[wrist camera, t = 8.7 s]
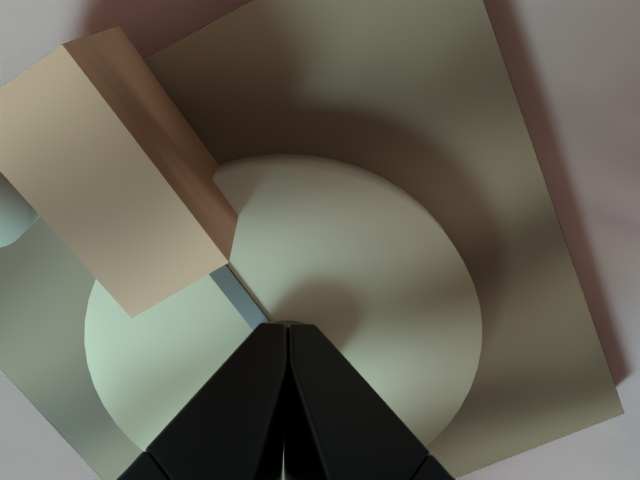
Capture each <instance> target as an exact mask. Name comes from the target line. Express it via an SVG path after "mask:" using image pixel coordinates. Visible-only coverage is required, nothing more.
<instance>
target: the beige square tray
mask: <svg viewBox="0 0 640 480" xmlns="http://www.w3.org/2000/svg"><path fill="white" fill-rule="evenodd" d="M144 62H145V63H146V65H147V66H148V67H149V69H150V70H151V72H152V73H153V74H154V76H155V77H156V79H157V80H158V81H159V83H160V84H161V86H162V87H163V88H164V90H165V91H166V93H167V94H168V95H169V97H170V98H171V100H172V101H173V102H174V104H175V105H176V107H177V108H178V109H179V111H180V112H181V114H182V115H183V116H184V118H185V119H186V121H187V122H188V123H189V125H190V126H191V128H192V129H193V130H194V132H195V133H196V135H197V136H198V137H199V139H200V140H201V142H202V143H203V145H204V146H205V147H206V149H207V150H208V152H209V153H210V154H211V156H212V157H213V159H214V160H215V161H216V163H217V164H220V163H223V162H227V161H232V160H236V159H241V158H245V157H250V156H259V155H270V154H303V155H312V156H318V157H324V158H330V159H335V160H338V161H342V162H345V163H348V164H352V165H355V166H359V167H361V168H363V169H366V170H368V171H370V172H372V173H375V174H377V175H379V176H381V177H383V178H385V179H387V180H388V181H390V182H392V183H393V184H395V185H396V186H398V187H400V188H401V189H403V190H404V191H406V192H407V193H408V194H409V195H411V196H412V197H413V198H414V199H416V200H417V201H418V202H419V203H420V204H422V205H423V206H424V207H425V208H426V209H427V210H428V211H429V213H430V214H431V215H432V216H433V217H434V218H435V219H436V220H437V221H438V223H439V224H440V225H441V226H442V228H443V229H444V231H445V233H446V234H447V236H448V237H449V239H450V240H451V242H452V243H453V245H454V246H455V248H456V250H457V251H458V253H459V255H460V257H461V258H462V260H463V262H464V263H465V266H466V268H467V270H468V272H469V274H470V276H471V279H472V281H473V283H474V286H475V290H476V293H477V297H478V300H479V304H480V311H481V319H482V348H481V353H480V358H479V363H478V368H477V371H476V374H475V377H474V380H473V383H472V385H471V388H470V390H469V392H468V394H467V396H466V398H465V400H464V402H463V404H462V405H461V407H460V409H459V410H458V412H457V413H456V414H455V416H454V417H453V419H452V420H451V421H450V423H449V424H448V425H447V427H446V428H445V429H444V430H443V431H442V432H441V433H440V434H439V435H438V436H437V437H436V439H435V440H434V441H432V442H431V443H430V444H429V445H428V446H427V447H426V448H427V449H428V450H429V452H430V455H433V456H434V457H435V458H436V459H437V460H438V461H439V462H440V463H441V465H442V466H443V467H444V468H445V469H446V470H447V471H448V472H449V473H450V474H451V476H452V477H453V478H454V479H455V478H457V477H460V476H463V475H465V474H468V473H470V472H473V471H476V470H478V469H481V468H483V467H486V466H489V465H491V464H494V463H496V462H499V461H502V460H504V459H507V458H509V457H512V456H514V455H517V454H520V453H522V452H525V451H527V450H530V449H533V448H535V447H538V446H540V445H543V444H546V443H548V442H551V441H553V440H556V439H559V438H561V437H564V436H566V435H569V434H572V433H574V432H577V431H579V430H582V429H585V428H587V427H590V426H592V425H595V424H598V423H600V422H603V421H605V420H608V419H611V418H613V417H616V416H618V415H621V414H624V410H623V408H622V405H621V402H620V399H619V396H618V393H617V390H616V387H615V384H614V381H613V378H612V375H611V373H610V370H609V367H608V364H607V361H606V358H605V355H604V352H603V349H602V346H601V343H600V340H599V338H598V335H597V332H596V329H595V326H594V323H593V320H592V317H591V314H590V311H589V308H588V305H587V302H586V300H585V297H584V294H583V291H582V288H581V285H580V282H579V279H578V276H577V273H576V270H575V267H574V265H573V262H572V259H571V256H570V253H569V250H568V247H567V244H566V241H565V238H564V235H563V232H562V230H561V227H560V224H559V221H558V218H557V215H556V212H555V209H554V206H553V203H552V200H551V197H550V195H549V192H548V189H547V186H546V183H545V180H544V177H543V174H542V171H541V168H540V165H539V162H538V159H537V157H536V154H535V151H534V148H533V145H532V142H531V139H530V136H529V133H528V130H527V127H526V124H525V122H524V119H523V116H522V113H521V110H520V107H519V104H518V101H517V98H516V95H515V92H514V89H513V87H512V84H511V81H510V78H509V75H508V72H507V69H506V66H505V63H504V60H503V57H502V54H501V52H500V49H499V46H498V43H497V40H496V37H495V34H494V31H493V28H492V25H491V22H490V19H489V16H488V14H487V11H486V8H485V5H484V2H483V0H252V1H250V2H248V3H246V4H244V5H242V6H241V7H239V8H237V9H235V10H233V11H231V12H230V13H228V14H226V15H224V16H222V17H220V18H219V19H217V20H215V21H213V22H211V23H209V24H208V25H206V26H204V27H202V28H200V29H199V30H197V31H195V32H193V33H191V34H189V35H188V36H186V37H184V38H182V39H180V40H178V41H177V42H175V43H173V44H171V45H169V46H167V47H166V48H164V49H162V50H160V51H158V52H156V53H155V54H153V55H151V56H149V57H147V58H145V59H144ZM95 280H96V278H95V277H94V276H93V275H92V273H91V272H90V271H89V270H88V269H87V268H86V267H85V266H84V265H83V263H82V262H81V261H80V260H79V259H78V258H77V257H76V256H75V254H74V253H73V252H72V251H71V250H70V249H69V248H68V247H67V245H66V244H65V243H64V242H63V241H62V240H61V239H60V238H59V237H58V235H57V234H56V233H55V232H54V231H53V230H52V229H51V228H50V226H49V225H48V224H47V223H46V222H45V221H44V220H43V219H42V217H41V216H40V215H39V214H38V213H37V212H36V211H35V210H34V209H33V207H32V206H31V205H30V204H29V203H28V202H27V201H26V200H25V198H24V197H23V196H22V195H21V194H20V193H19V192H18V191H17V189H16V188H15V187H14V186H13V185H12V184H11V183H10V182H9V181H8V179H7V178H6V177H5V176H4V175H3V174H2V173H1V172H0V370H1V371H2V372H3V373H4V374H5V375H6V376H7V377H8V378H9V379H10V380H11V382H12V383H13V384H14V385H15V386H16V387H17V388H18V389H19V390H20V391H21V392H22V393H23V395H24V396H25V397H26V398H27V399H28V400H29V401H30V402H31V403H32V404H33V405H34V406H35V408H36V409H37V410H38V411H39V412H40V413H41V414H42V415H43V416H44V417H45V418H46V420H47V421H48V422H49V423H50V424H51V425H52V426H53V427H54V428H55V429H56V430H57V431H58V433H59V434H60V435H61V436H62V437H63V438H64V439H65V440H66V441H67V442H68V443H69V444H70V446H71V447H72V448H73V449H74V450H75V451H76V452H77V453H78V454H79V455H80V456H81V457H82V459H83V460H84V461H85V462H86V463H87V464H88V465H89V466H90V467H91V468H92V469H93V471H94V472H95V473H96V474H97V475H98V476H99V477H100V478H101V479H102V480H116V479H117V478H118V477H119V476H120V475H121V474H122V473H123V472H124V471H125V470H126V469H127V468H128V467H129V466H130V465H131V464H132V463H133V461H134V460H135V459H136V458H137V457H138V456H139V455H140V454H141V453H142V452H143V451H142V450H141V449H140V448H139V447H138V446H137V445H136V444H134V443H133V442H132V441H131V440H130V439H129V438H128V437H127V436H126V434H125V433H124V432H123V431H122V430H121V429H120V428H119V427H118V425H117V424H116V423H115V422H114V420H113V419H112V417H111V416H110V414H109V413H108V411H107V410H106V408H105V407H104V405H103V403H102V401H101V399H100V397H99V395H98V393H97V391H96V389H95V387H94V384H93V381H92V378H91V374H90V371H89V368H88V364H87V358H86V351H85V344H84V338H85V317H86V311H87V306H88V300H89V297H90V294H91V291H92V288H93V285H94V283H95Z"/></svg>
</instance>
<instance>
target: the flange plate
mask: <svg viewBox="0 0 640 480" xmlns="http://www.w3.org/2000/svg"><path fill="white" fill-rule="evenodd" d="M0 172H1V173H2V174H3V175H4V176H5V177H6V178H7V179H8V181H9V182H10V183H11V184H12V185H13V186H14V187H15V188H16V189H17V191H18V192H19V193H20V194H21V195H22V196H23V197H24V198H25V200H26V201H27V202H28V203H29V204H30V205H31V206H32V207H33V209H34V210H35V211H36V212H37V213H38V214H39V215H40V216H41V217H42V219H43V220H44V221H45V222H46V223H47V224H48V225H49V226H50V228H51V229H52V230H53V231H54V232H55V233H56V234H57V235H58V237H59V238H60V239H61V240H62V241H63V242H64V243H65V244H66V245H67V247H68V248H69V249H70V250H71V251H72V252H73V253H74V254H75V256H76V257H77V258H78V259H79V260H80V261H81V262H82V263H83V265H84V266H85V267H86V268H87V269H88V270H89V271H90V272H91V273H92V275H93V276H94V277H95V278H96V280H95V283H94V285H93V288H92V291H91V294H90V297H89V300H88V306H87V311H86V317H85V338H84V344H85V351H86V358H87V364H88V368H89V371H90V374H91V378H92V381H93V384H94V387H95V389H96V391H97V393H98V395H99V397H100V399H101V401H102V403H103V405H104V407H105V408H106V410H107V411H108V413H109V414H110V416H111V417H112V419H113V420H114V422H115V423H116V424H117V425H118V427H119V428H120V429H121V430H122V431H123V432H124V433H125V434H126V436H127V437H128V438H129V439H130V440H131V441H132V442H133V443H134V444H136V445H137V446H138V447H139V448H140V449H141V450H142V451H145V450H146V448H147V446H148V445H149V444H150V443H151V442H152V441H153V440H154V439H155V438H156V437H157V435H158V434H159V433H160V432H161V431H162V430H163V429H164V428H165V427H166V426H167V424H168V423H169V422H170V421H171V420H172V419H173V418H174V417H175V416H176V415H177V414H178V412H179V411H180V410H181V409H182V408H183V407H184V406H185V405H186V404H187V403H188V401H189V400H190V399H191V398H192V397H193V396H194V395H195V394H196V393H197V392H198V390H199V389H200V388H201V387H202V386H203V385H204V384H205V383H206V382H207V381H208V379H209V378H210V377H211V376H212V375H213V374H214V373H215V372H216V371H217V370H218V369H219V367H220V366H221V365H222V364H223V363H224V362H225V361H226V360H227V359H228V358H229V356H230V355H231V354H232V353H233V352H234V351H235V350H236V349H237V348H238V347H239V345H240V344H241V343H242V342H243V341H244V340H245V339H246V338H247V337H248V336H249V334H250V333H251V332H252V331H253V330H254V329H255V328H256V327H257V326H258V325H259V324H260V323H284V324H286V325H287V327H289V325H290V324H293V323H298V324H315V325H316V326H318V328H319V329H320V330H321V331H322V332H323V333H324V334H325V335H326V336H327V338H328V339H329V340H330V341H331V342H332V343H333V344H334V345H335V347H336V348H337V349H338V350H339V351H340V352H341V353H342V354H343V355H344V357H345V358H346V359H347V360H348V361H349V362H350V363H351V364H352V365H353V367H354V368H355V369H356V370H357V371H358V372H359V373H360V374H361V376H362V377H363V378H364V379H365V380H366V381H367V382H368V383H369V384H370V386H371V387H372V388H373V389H374V390H375V391H376V392H377V393H378V395H379V396H380V397H381V398H382V399H383V400H384V401H385V402H386V403H387V405H388V406H389V407H390V408H391V409H392V410H393V411H394V412H395V413H396V415H397V416H398V417H399V418H400V419H401V420H402V421H403V422H404V424H405V425H406V426H407V427H408V428H409V429H410V430H411V431H412V432H413V434H414V435H415V436H416V437H417V438H418V439H419V440H420V441H421V443H422V444H423V445H424V446H425V447H427V446H428V445H429V444H430V443H431V442H432V441H434V440H435V439H436V437H437V436H438V435H439V434H440V433H441V432H442V431H443V430H444V429H445V428H446V427H447V425H448V424H449V423H450V421H451V420H452V419H453V417H454V416H455V414H456V413H457V412H458V410H459V409H460V407H461V405H462V404H463V402H464V400H465V398H466V396H467V394H468V392H469V390H470V388H471V385H472V383H473V380H474V377H475V374H476V371H477V368H478V363H479V358H480V353H481V348H482V319H481V311H480V304H479V300H478V297H477V293H476V290H475V286H474V283H473V281H472V279H471V276H470V274H469V272H468V270H467V268H466V266H465V263H464V262H463V260H462V258H461V257H460V255H459V253H458V251H457V250H456V248H455V246H454V245H453V243H452V242H451V240H450V239H449V237H448V236H447V234H446V233H445V231H444V229H443V228H442V226H441V225H440V224H439V223H438V221H437V220H436V219H435V218H434V217H433V216H432V215H431V214H430V213H429V211H428V210H427V209H426V208H425V207H424V206H423V205H422V204H420V203H419V202H418V201H417V200H416V199H414V198H413V197H412V196H411V195H409V194H408V193H407V192H406V191H404V190H403V189H401V188H400V187H398V186H396V185H395V184H393V183H392V182H390V181H388V180H387V179H385V178H383V177H381V176H379V175H377V174H375V173H372V172H370V171H368V170H366V169H363V168H361V167H359V166H355V165H352V164H348V163H345V162H342V161H338V160H335V159H330V158H324V157H318V156H312V155H303V154H270V155H259V156H250V157H245V158H241V159H236V160H232V161H227V162H223V163H220V164H217V163H216V161H215V160H214V159H213V157H212V156H211V154H210V153H209V152H208V150H207V149H206V147H205V146H204V145H203V143H202V142H201V140H200V139H199V137H198V136H197V135H196V133H195V132H194V130H193V129H192V128H191V126H190V125H189V123H188V122H187V121H186V119H185V118H184V116H183V115H182V114H181V112H180V111H179V109H178V108H177V107H176V105H175V104H174V102H173V101H172V100H171V98H170V97H169V95H168V94H167V93H166V91H165V90H164V88H163V87H162V86H161V84H160V83H159V81H158V80H157V79H156V77H155V76H154V74H153V73H152V72H151V70H150V69H149V67H148V66H147V65H146V63H145V62H144V60H143V59H142V58H141V56H140V55H139V53H138V52H137V51H136V49H135V48H134V46H133V45H132V44H131V42H130V41H129V39H128V38H127V37H126V35H125V34H124V32H123V31H122V30H121V28H120V27H119V26H116V27H113V28H110V29H107V30H104V31H101V32H98V33H95V34H92V35H89V36H86V37H83V38H80V39H77V40H74V41H71V42H68V43H65V44H62V45H60V46H59V47H58V48H56V49H55V50H53V51H52V52H50V53H49V54H48V55H46V56H45V57H43V58H42V59H41V60H39V61H38V62H36V63H35V64H33V65H32V66H31V67H29V68H28V69H26V70H25V71H23V72H22V73H21V74H19V75H18V76H16V77H15V78H13V79H12V80H11V81H9V82H8V83H6V84H5V85H4V86H2V87H1V88H0ZM282 480H284V454H283V472H282Z"/></svg>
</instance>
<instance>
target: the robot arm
mask: <svg viewBox="0 0 640 480" xmlns="http://www.w3.org/2000/svg"><path fill="white" fill-rule="evenodd" d="M283 454H284V480H455V479H454V478H453V477H452V476H451V474H450V473H449V472H448V471H447V470H446V469H445V468H444V467H443V466H442V465H441V463H440V462H439V461H438V460H437V459H436V458H435V457H434V456H433V455H430V452H429V450H428V449H427V448H426V447H425V446H424V445H423V444H422V443H421V441H420V440H419V439H418V438H417V437H416V436H415V435H414V434H413V432H412V431H411V430H410V429H409V428H408V427H407V426H406V425H405V424H404V422H403V421H402V420H401V419H400V418H399V417H398V416H397V415H396V413H395V412H394V411H393V410H392V409H391V408H390V407H389V406H388V405H387V403H386V402H385V401H384V400H383V399H382V398H381V397H380V396H379V395H378V393H377V392H376V391H375V390H374V389H373V388H372V387H371V386H370V384H369V383H368V382H367V381H366V380H365V379H364V378H363V377H362V376H361V374H360V373H359V372H358V371H357V370H356V369H355V368H354V367H353V365H352V364H351V363H350V362H349V361H348V360H347V359H346V358H345V357H344V355H343V354H342V353H341V352H340V351H339V350H338V349H337V348H336V347H335V345H334V344H333V343H332V342H331V341H330V340H329V339H328V338H327V336H326V335H325V334H324V333H323V332H322V331H321V330H320V329H319V328H318V326H316V325H315V324H298V323H293V324H290V325H289V327H287V325H286V324H284V323H260V324H259V325H258V326H257V327H256V328H255V329H254V330H253V331H252V332H251V333H250V334H249V336H248V337H247V338H246V339H245V340H244V341H243V342H242V343H241V344H240V345H239V347H238V348H237V349H236V350H235V351H234V352H233V353H232V354H231V355H230V356H229V358H228V359H227V360H226V361H225V362H224V363H223V364H222V365H221V366H220V367H219V369H218V370H217V371H216V372H215V373H214V374H213V375H212V376H211V377H210V378H209V379H208V381H207V382H206V383H205V384H204V385H203V386H202V387H201V388H200V389H199V390H198V392H197V393H196V394H195V395H194V396H193V397H192V398H191V399H190V400H189V401H188V403H187V404H186V405H185V406H184V407H183V408H182V409H181V410H180V411H179V412H178V414H177V415H176V416H175V417H174V418H173V419H172V420H171V421H170V422H169V423H168V424H167V426H166V427H165V428H164V429H163V430H162V431H161V432H160V433H159V434H158V435H157V437H156V438H155V439H154V440H153V441H152V442H151V443H150V444H149V445H148V446H147V448H146V450H145V451H143V452H142V453H141V454H140V455H139V456H138V457H137V458H136V459H135V460H134V461H133V463H132V464H131V465H130V466H129V467H128V468H127V469H126V470H125V471H124V472H123V473H122V474H121V475H120V476H119V477H118V478H117V479H116V480H282V472H283Z"/></svg>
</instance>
